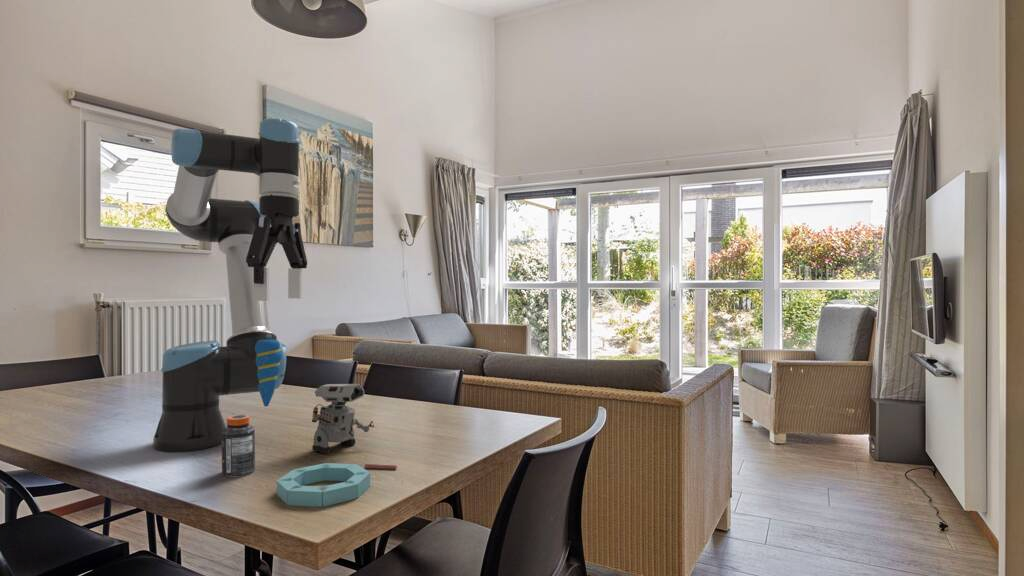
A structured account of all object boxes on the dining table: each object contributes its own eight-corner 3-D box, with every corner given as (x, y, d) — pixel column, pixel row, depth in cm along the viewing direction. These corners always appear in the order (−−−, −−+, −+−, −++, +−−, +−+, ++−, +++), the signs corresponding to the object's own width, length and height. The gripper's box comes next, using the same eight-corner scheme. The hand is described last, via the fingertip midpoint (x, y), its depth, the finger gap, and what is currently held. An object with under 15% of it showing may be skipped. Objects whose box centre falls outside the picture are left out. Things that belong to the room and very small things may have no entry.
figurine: (343, 459, 124) (343, 389, 123) (307, 450, 129) (307, 384, 129) (374, 448, 131) (374, 383, 131) (338, 441, 137) (338, 378, 137)
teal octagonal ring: (263, 504, 98) (263, 489, 98) (304, 474, 113) (304, 462, 113) (347, 508, 97) (347, 493, 97) (378, 478, 111) (378, 465, 111)
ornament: (262, 408, 112) (266, 331, 113) (245, 406, 115) (250, 331, 116) (284, 406, 116) (288, 331, 118) (268, 404, 119) (272, 331, 120)
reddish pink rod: (363, 468, 117) (363, 464, 117) (365, 467, 118) (365, 463, 118) (396, 469, 116) (396, 465, 116) (397, 468, 117) (397, 464, 117)
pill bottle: (229, 468, 117) (229, 413, 117) (259, 467, 117) (259, 412, 117) (216, 478, 111) (216, 420, 111) (248, 477, 111) (248, 419, 111)
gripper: (264, 187, 106) (263, 302, 106) (323, 204, 131) (322, 297, 131) (225, 187, 107) (225, 301, 107) (291, 204, 131) (291, 297, 132)
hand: (279, 299), depth 119 cm, fingers open, 13 cm apart
